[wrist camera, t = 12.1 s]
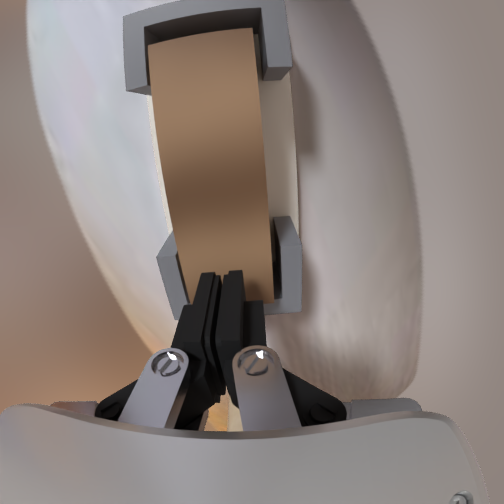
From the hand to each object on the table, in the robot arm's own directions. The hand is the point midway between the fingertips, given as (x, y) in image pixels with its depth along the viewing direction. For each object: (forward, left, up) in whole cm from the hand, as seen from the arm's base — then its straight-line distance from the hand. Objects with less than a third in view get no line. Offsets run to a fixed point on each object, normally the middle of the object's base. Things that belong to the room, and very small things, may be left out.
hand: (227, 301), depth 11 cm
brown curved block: (-5, 0, -6) cm, 8 cm away
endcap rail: (-5, 0, -7) cm, 9 cm away
